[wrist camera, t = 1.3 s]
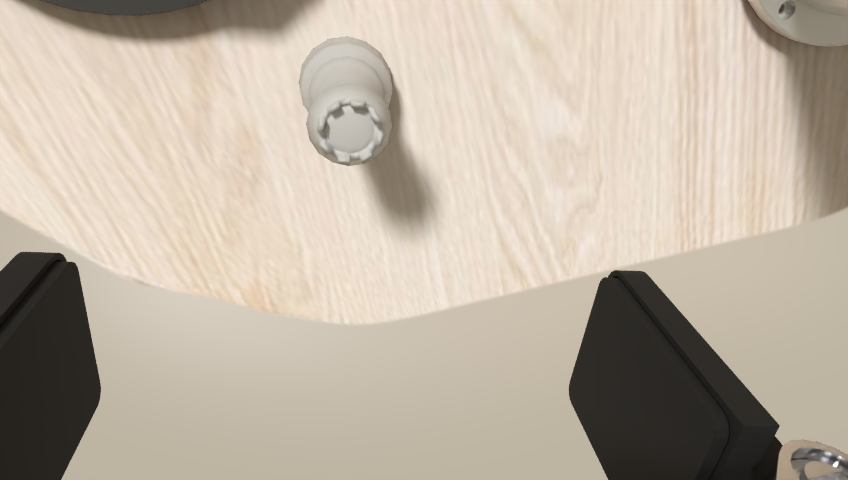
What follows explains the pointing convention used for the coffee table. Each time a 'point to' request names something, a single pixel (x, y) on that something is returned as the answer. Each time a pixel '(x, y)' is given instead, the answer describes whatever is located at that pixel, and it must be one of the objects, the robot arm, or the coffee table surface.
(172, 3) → the carrier plate
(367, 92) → the rook chess piece
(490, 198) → the coffee table surface
